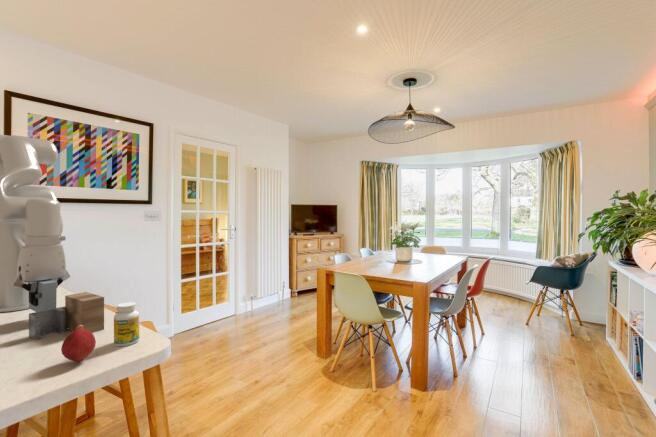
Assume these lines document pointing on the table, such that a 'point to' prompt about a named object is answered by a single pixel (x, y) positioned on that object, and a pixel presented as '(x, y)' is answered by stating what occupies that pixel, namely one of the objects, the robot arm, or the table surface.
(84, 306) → the brown tall rectangular block
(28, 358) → the table surface
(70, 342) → the onion
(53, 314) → the gray wooden bench
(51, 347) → the table surface
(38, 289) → the pale blue tall prism
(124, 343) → the supplement bottle
